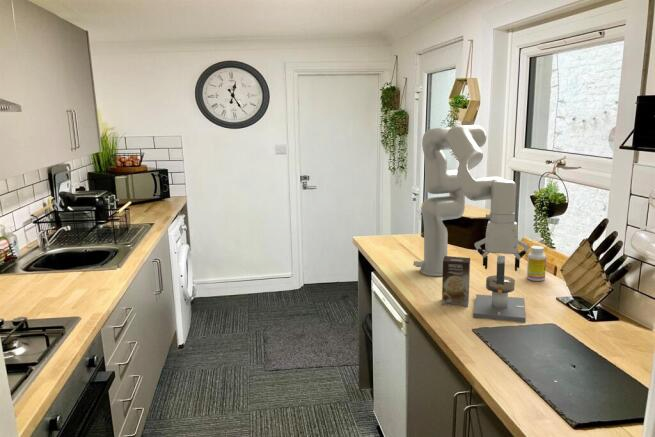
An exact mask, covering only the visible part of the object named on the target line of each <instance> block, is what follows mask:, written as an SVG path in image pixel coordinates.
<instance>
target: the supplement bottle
mask: <svg viewBox="0 0 655 437" xmlns="http://www.w3.org/2000/svg"><path fill="white" fill-rule="evenodd" d="M544 249H545V248H544V246H541V245H531V247H530V252H529V253H528V255H527V266H526V269H527V270H526V272H527V273H526V278H527V279H528V280H530V281H534V282H542V281H544V280H545V279H546V267H547V266H546V264H547V255H546V254H545V253H544V252H545V250H544Z"/></svg>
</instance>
